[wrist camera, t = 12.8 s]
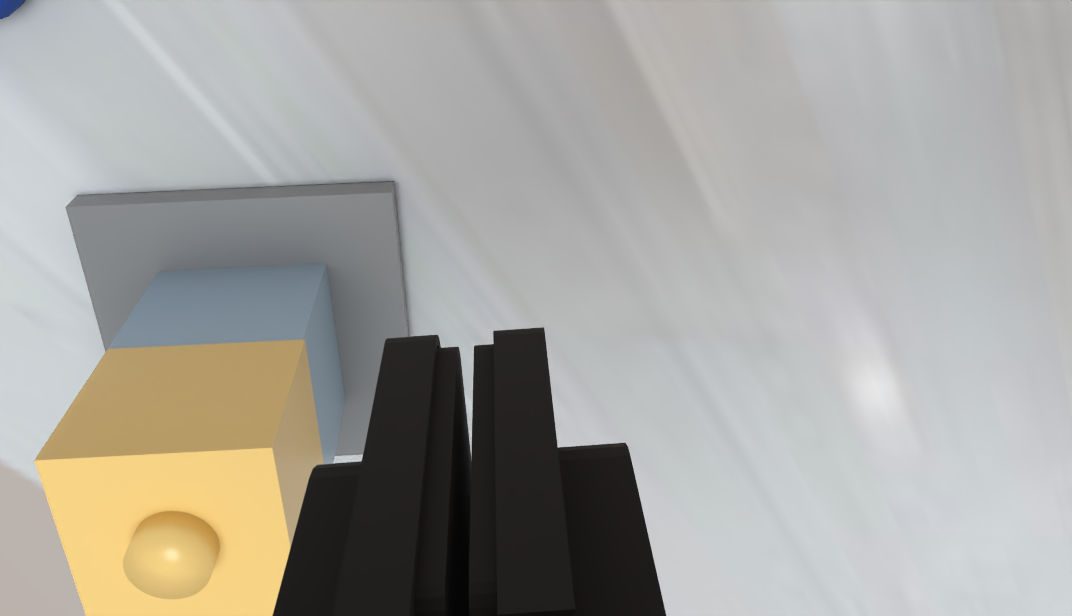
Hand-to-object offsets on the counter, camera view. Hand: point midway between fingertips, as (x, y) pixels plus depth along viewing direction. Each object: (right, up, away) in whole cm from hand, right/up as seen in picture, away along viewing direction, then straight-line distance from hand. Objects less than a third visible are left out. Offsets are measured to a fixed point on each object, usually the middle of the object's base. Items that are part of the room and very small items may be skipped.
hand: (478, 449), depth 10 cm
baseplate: (-11, +1, +29) cm, 31 cm away
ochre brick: (-10, -2, +22) cm, 25 cm away
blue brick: (-11, 0, +28) cm, 30 cm away
